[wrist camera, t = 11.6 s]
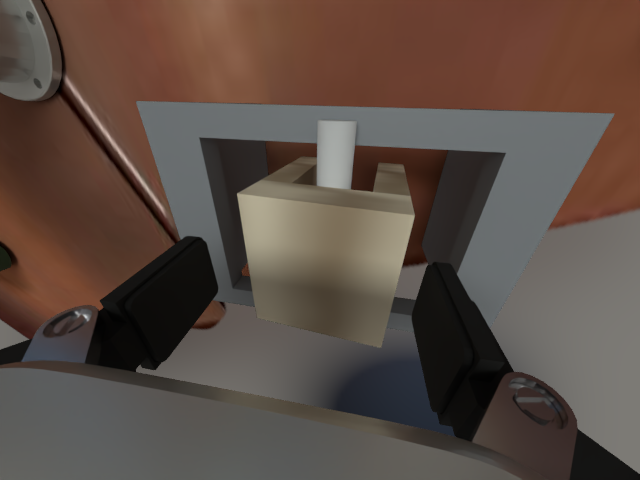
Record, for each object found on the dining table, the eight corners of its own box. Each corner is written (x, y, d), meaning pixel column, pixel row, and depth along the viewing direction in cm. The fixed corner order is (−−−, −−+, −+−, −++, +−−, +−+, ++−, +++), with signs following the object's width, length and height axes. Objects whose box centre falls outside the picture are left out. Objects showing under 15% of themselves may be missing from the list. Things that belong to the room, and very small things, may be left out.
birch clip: (303, 244, 19) (256, 317, 13) (302, 156, 16) (237, 193, 9) (384, 257, 18) (380, 347, 11) (403, 164, 14) (415, 215, 8)
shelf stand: (261, 228, 28) (185, 313, 16) (246, 103, 22) (104, 100, 10) (435, 246, 25) (492, 367, 14) (479, 109, 19) (662, 115, 7)
